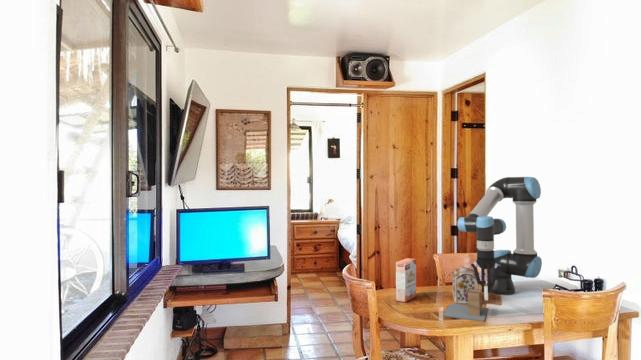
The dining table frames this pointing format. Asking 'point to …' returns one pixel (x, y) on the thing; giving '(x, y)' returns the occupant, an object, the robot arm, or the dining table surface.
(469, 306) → the walnut block
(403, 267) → the cracker box
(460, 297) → the decorative jar
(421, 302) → the dining table surface
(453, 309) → the rubber mat
